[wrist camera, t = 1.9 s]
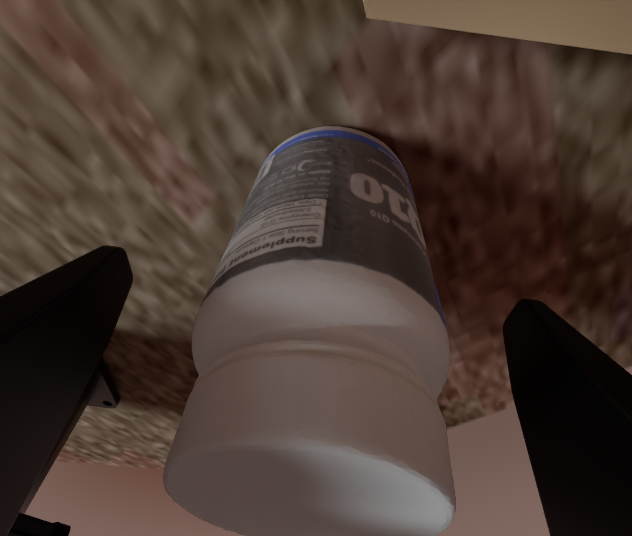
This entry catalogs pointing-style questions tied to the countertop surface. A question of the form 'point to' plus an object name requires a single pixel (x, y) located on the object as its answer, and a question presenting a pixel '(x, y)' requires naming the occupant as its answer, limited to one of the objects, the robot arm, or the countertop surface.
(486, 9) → the beech tray
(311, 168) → the pill bottle
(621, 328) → the countertop surface
